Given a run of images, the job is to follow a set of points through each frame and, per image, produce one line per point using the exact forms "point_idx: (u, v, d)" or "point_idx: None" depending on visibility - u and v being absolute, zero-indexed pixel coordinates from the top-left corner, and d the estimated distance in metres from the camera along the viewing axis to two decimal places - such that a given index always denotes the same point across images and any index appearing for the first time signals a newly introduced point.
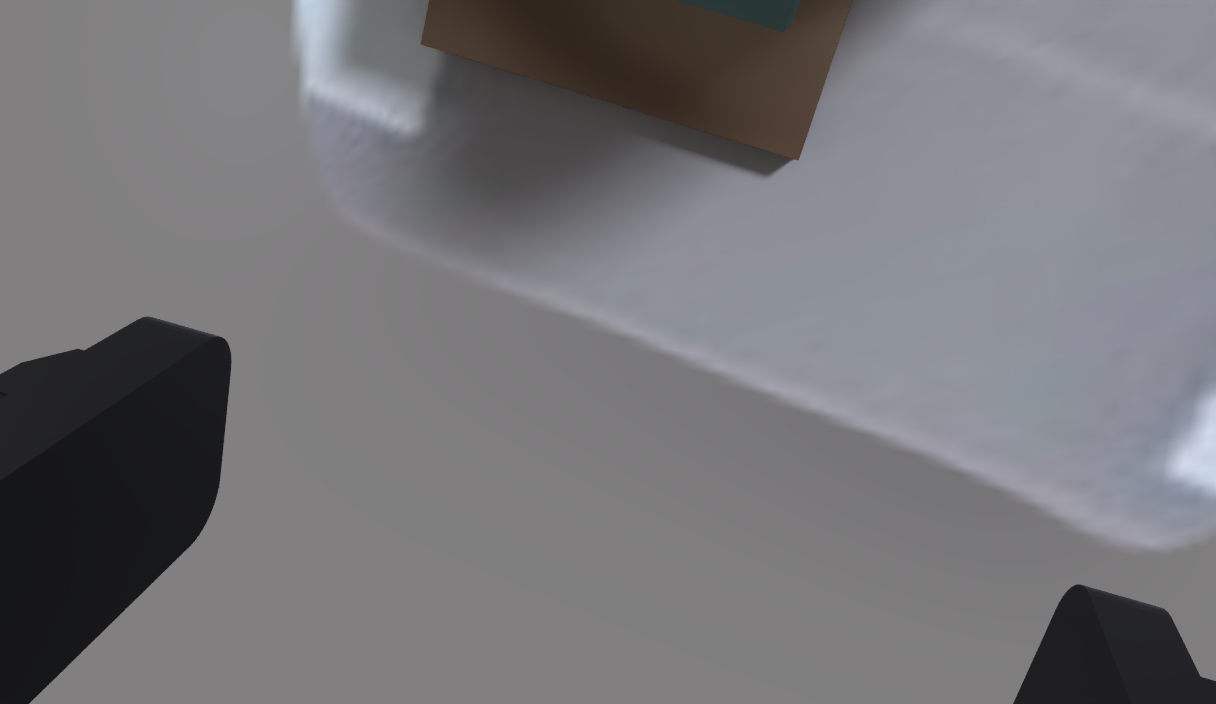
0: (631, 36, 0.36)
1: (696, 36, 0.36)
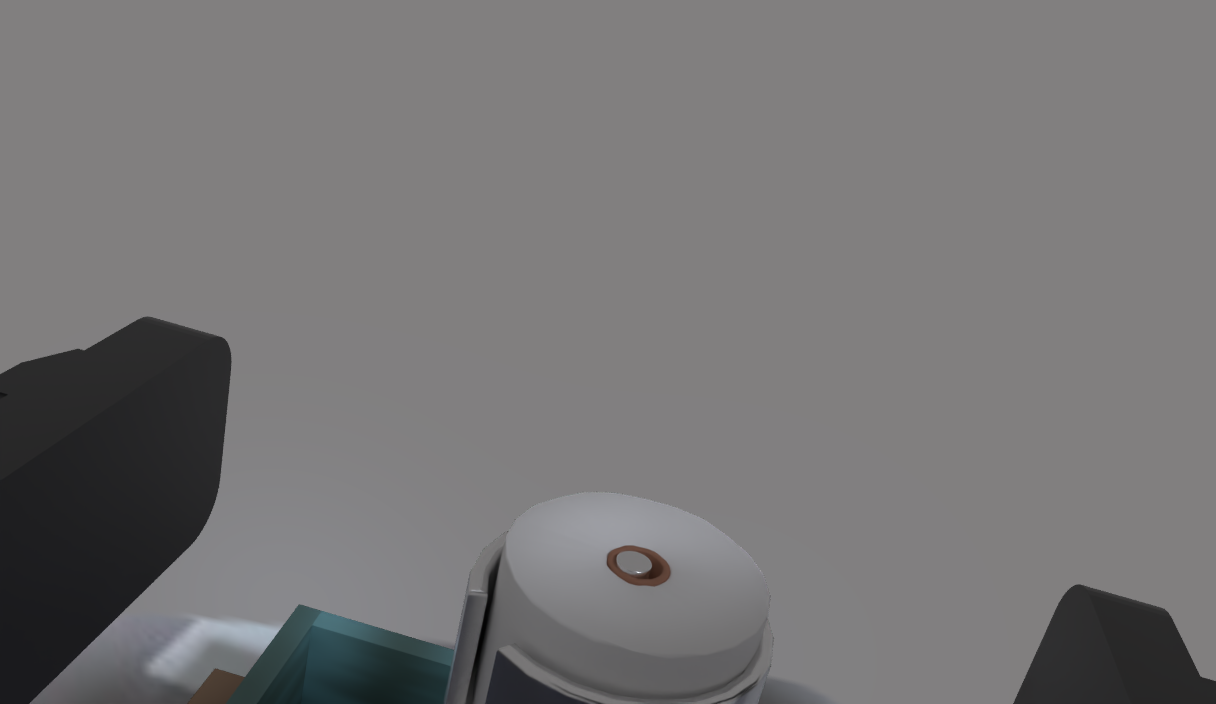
0: None
1: None
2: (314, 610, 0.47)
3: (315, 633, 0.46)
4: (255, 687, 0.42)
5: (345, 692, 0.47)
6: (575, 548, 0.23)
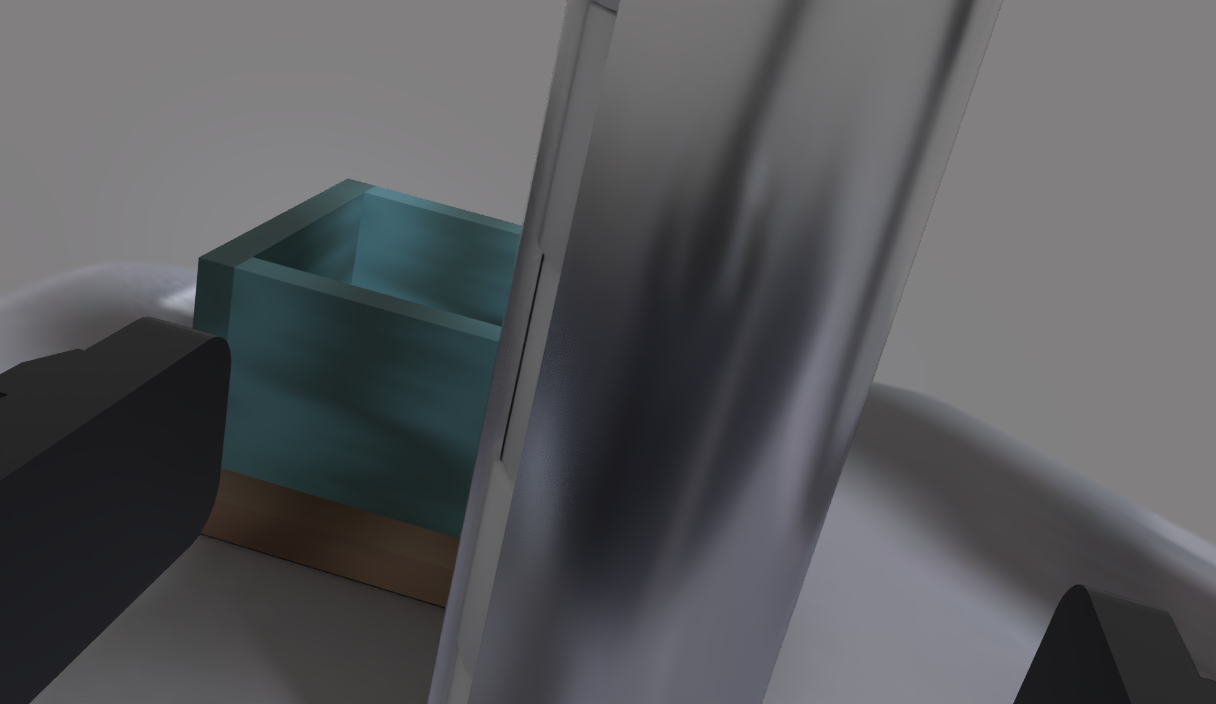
0: None
1: None
2: (366, 185, 0.39)
3: (368, 204, 0.38)
4: (298, 219, 0.34)
5: (403, 285, 0.39)
6: None
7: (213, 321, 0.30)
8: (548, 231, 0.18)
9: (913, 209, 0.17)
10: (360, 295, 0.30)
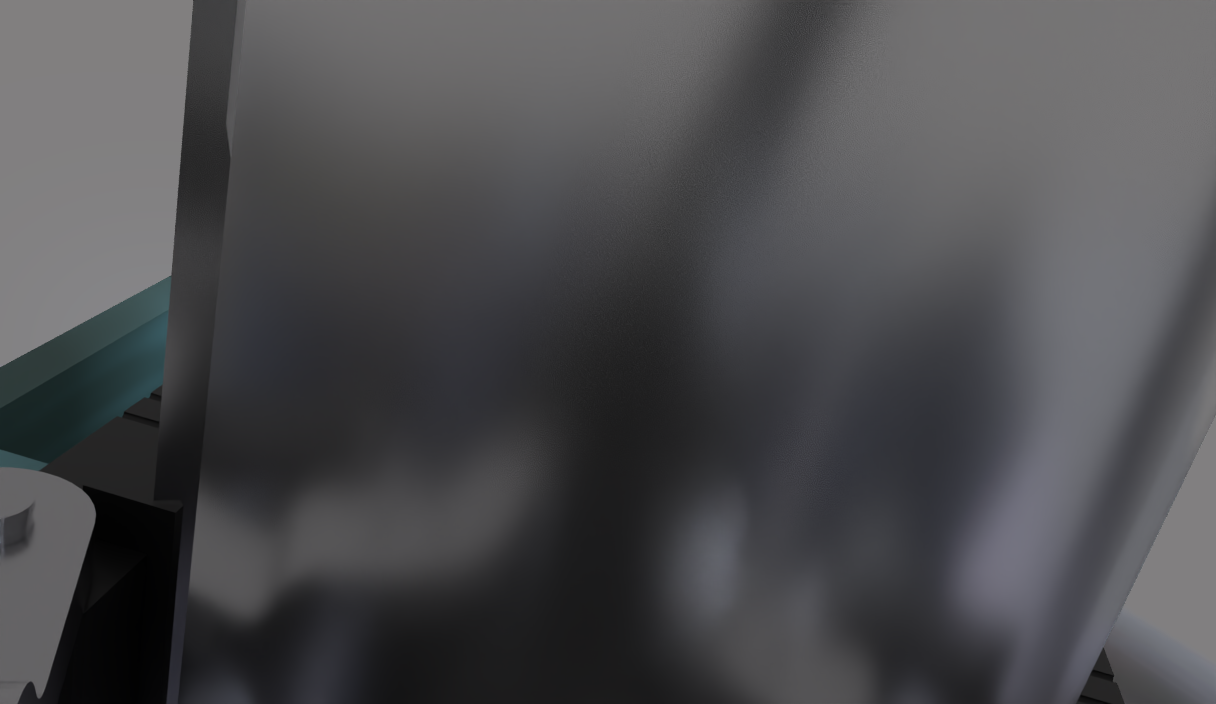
0: None
1: None
2: None
3: None
4: (65, 353, 0.24)
5: None
6: None
7: None
8: None
9: (1072, 689, 0.06)
10: None
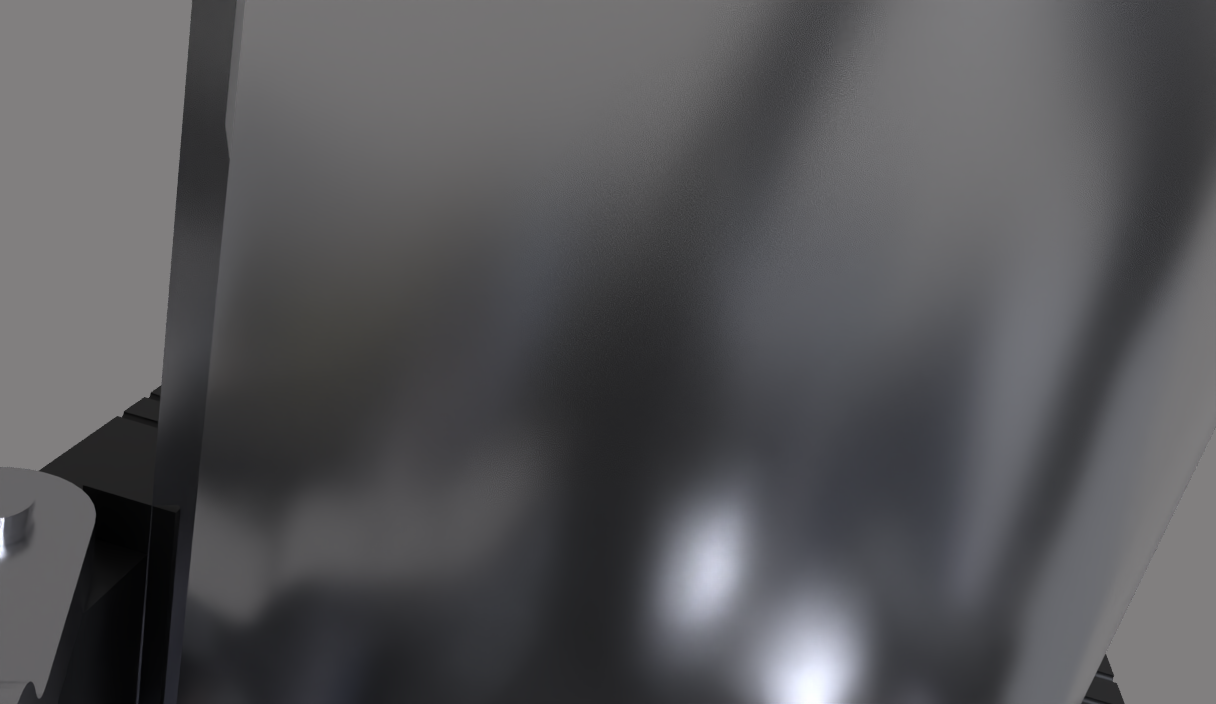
0: None
1: None
2: None
3: None
4: None
5: None
6: None
7: None
8: None
9: (1077, 693, 0.06)
10: None
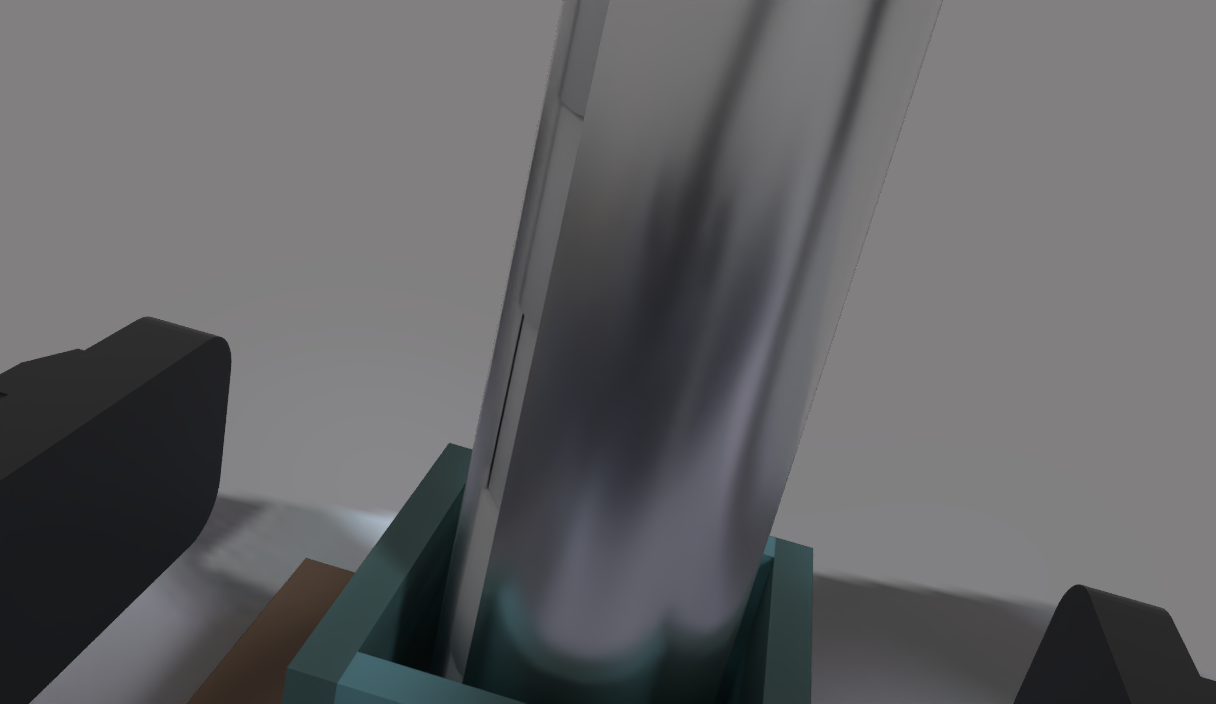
0: None
1: None
2: None
3: None
4: (403, 547, 0.26)
5: None
6: None
7: None
8: (527, 295, 0.21)
9: (834, 280, 0.20)
10: None
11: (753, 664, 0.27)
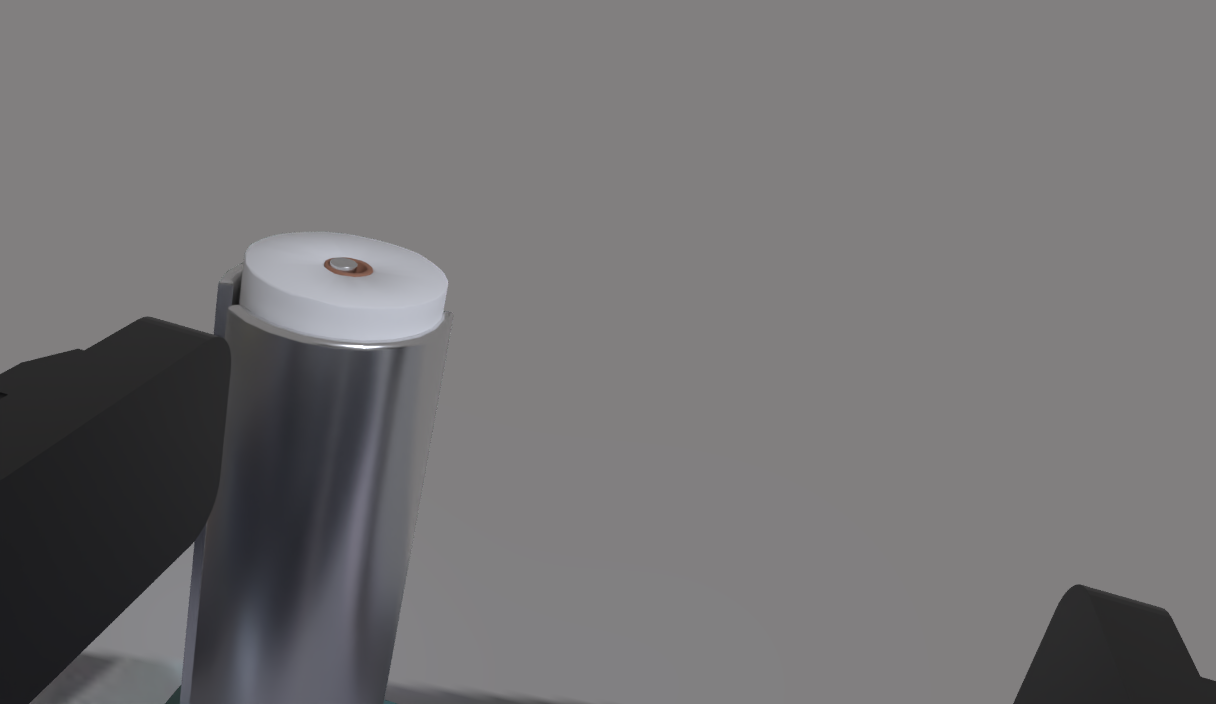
0: None
1: None
2: None
3: None
4: None
5: None
6: (302, 255, 0.32)
7: None
8: (199, 609, 0.35)
9: (368, 613, 0.34)
10: None
11: None
